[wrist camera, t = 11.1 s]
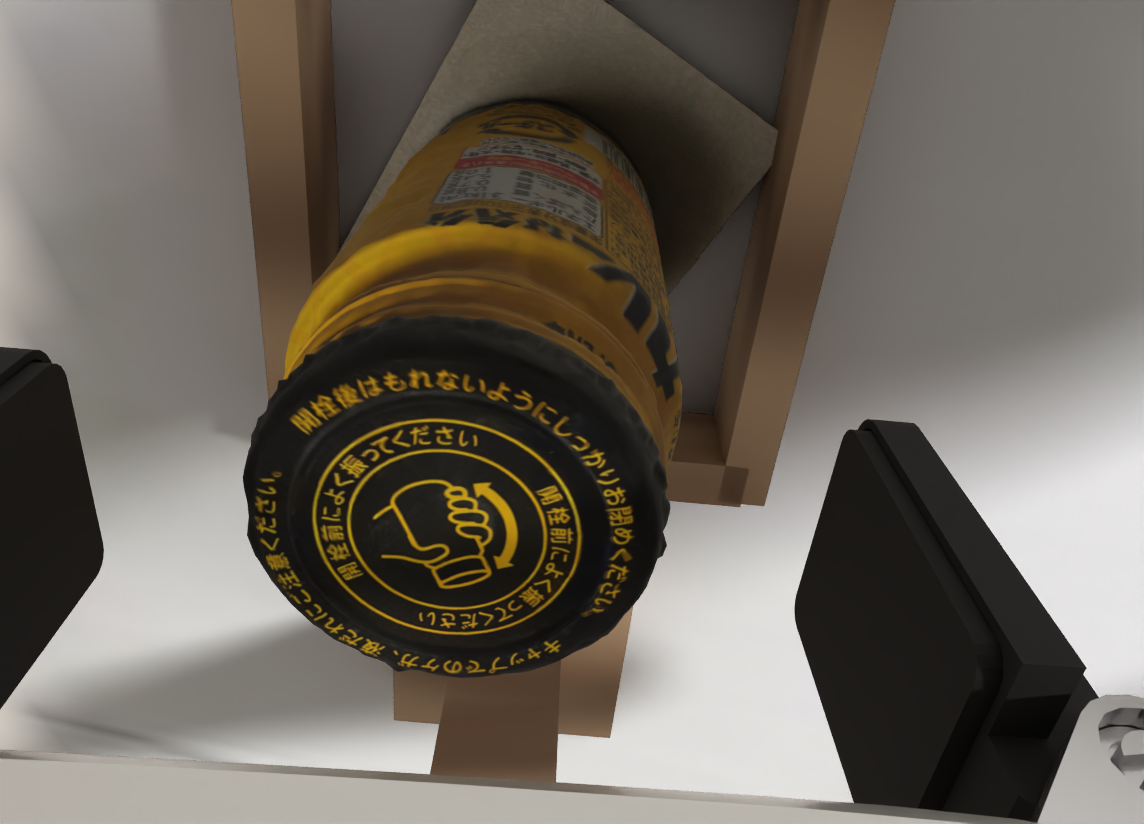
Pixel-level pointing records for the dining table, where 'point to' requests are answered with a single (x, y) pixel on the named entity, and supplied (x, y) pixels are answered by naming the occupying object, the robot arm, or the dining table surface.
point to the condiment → (502, 350)
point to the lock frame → (705, 442)
